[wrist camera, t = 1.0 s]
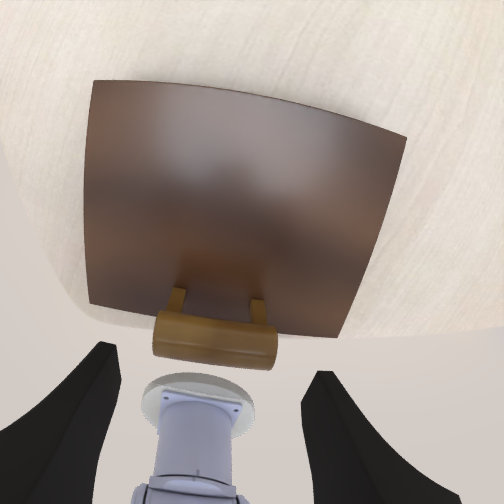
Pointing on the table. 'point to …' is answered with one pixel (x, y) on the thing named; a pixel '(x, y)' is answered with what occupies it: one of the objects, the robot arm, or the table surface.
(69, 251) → the table surface
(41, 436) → the robot arm
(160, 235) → the box lid
